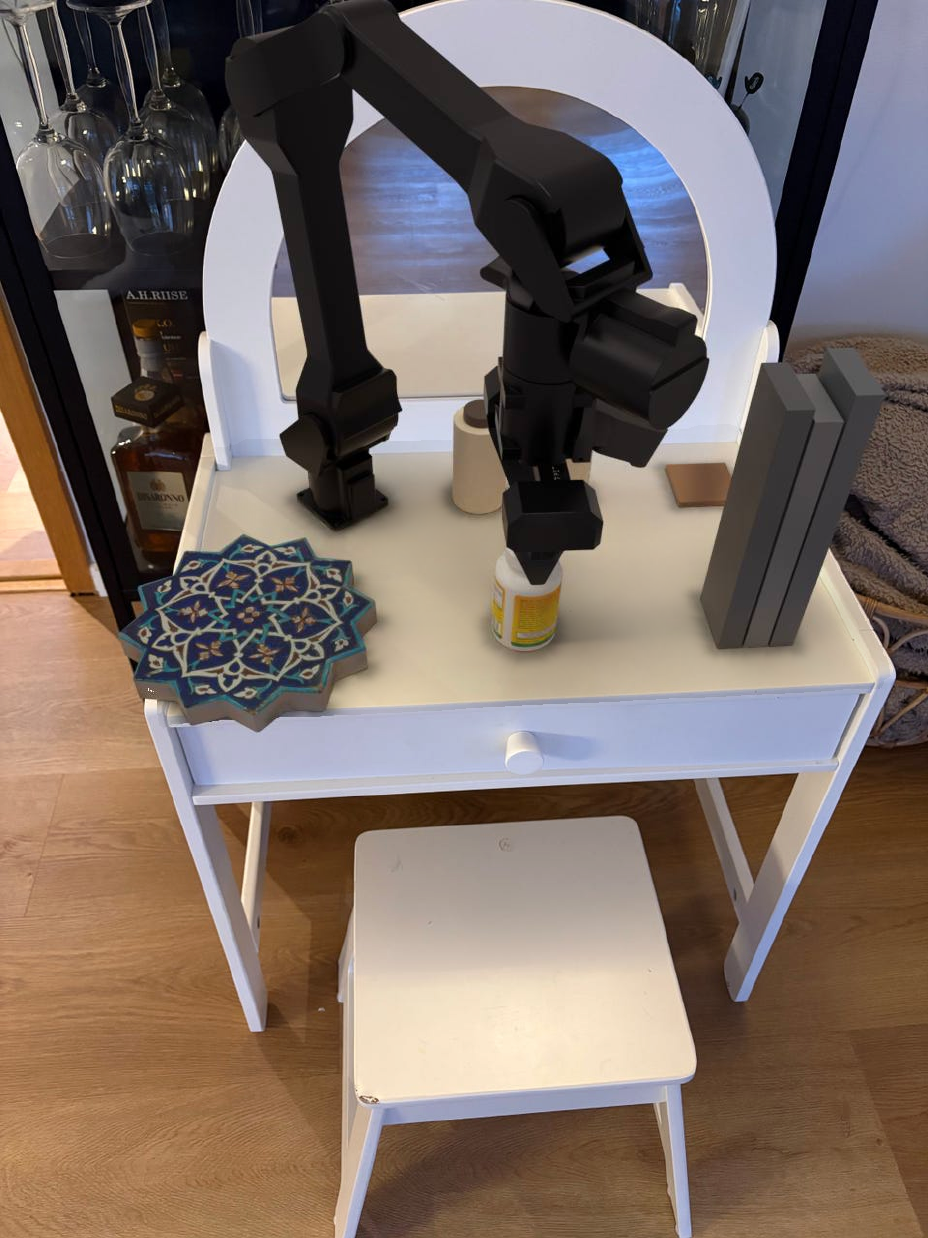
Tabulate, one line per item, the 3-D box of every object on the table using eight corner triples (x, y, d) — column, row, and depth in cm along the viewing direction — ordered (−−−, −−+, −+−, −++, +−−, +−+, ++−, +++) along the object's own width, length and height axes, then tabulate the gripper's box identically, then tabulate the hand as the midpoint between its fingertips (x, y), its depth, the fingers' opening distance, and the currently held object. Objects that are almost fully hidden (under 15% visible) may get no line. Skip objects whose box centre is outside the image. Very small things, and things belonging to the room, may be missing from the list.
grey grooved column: (793, 645, 81) (886, 394, 64) (717, 648, 81) (790, 397, 64) (771, 595, 85) (854, 347, 68) (699, 598, 85) (764, 349, 68)
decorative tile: (103, 596, 84) (96, 576, 82) (322, 529, 90) (319, 509, 88) (165, 769, 71) (158, 750, 70) (413, 677, 78) (412, 657, 76)
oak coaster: (678, 506, 94) (679, 502, 93) (665, 469, 98) (666, 464, 98) (740, 504, 94) (741, 499, 94) (724, 467, 98) (725, 462, 98)
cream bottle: (441, 495, 94) (441, 406, 87) (480, 475, 97) (483, 387, 90) (476, 521, 92) (479, 431, 85) (515, 499, 94) (521, 410, 87)
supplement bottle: (478, 635, 81) (481, 547, 75) (514, 599, 85) (520, 512, 78) (533, 663, 79) (541, 576, 72) (567, 625, 82) (579, 538, 76)
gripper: (701, 441, 58) (659, 625, 69) (639, 290, 71) (612, 466, 82) (514, 446, 57) (501, 631, 68) (486, 293, 70) (479, 469, 81)
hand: (530, 542), depth 75 cm, fingers open, 9 cm apart
